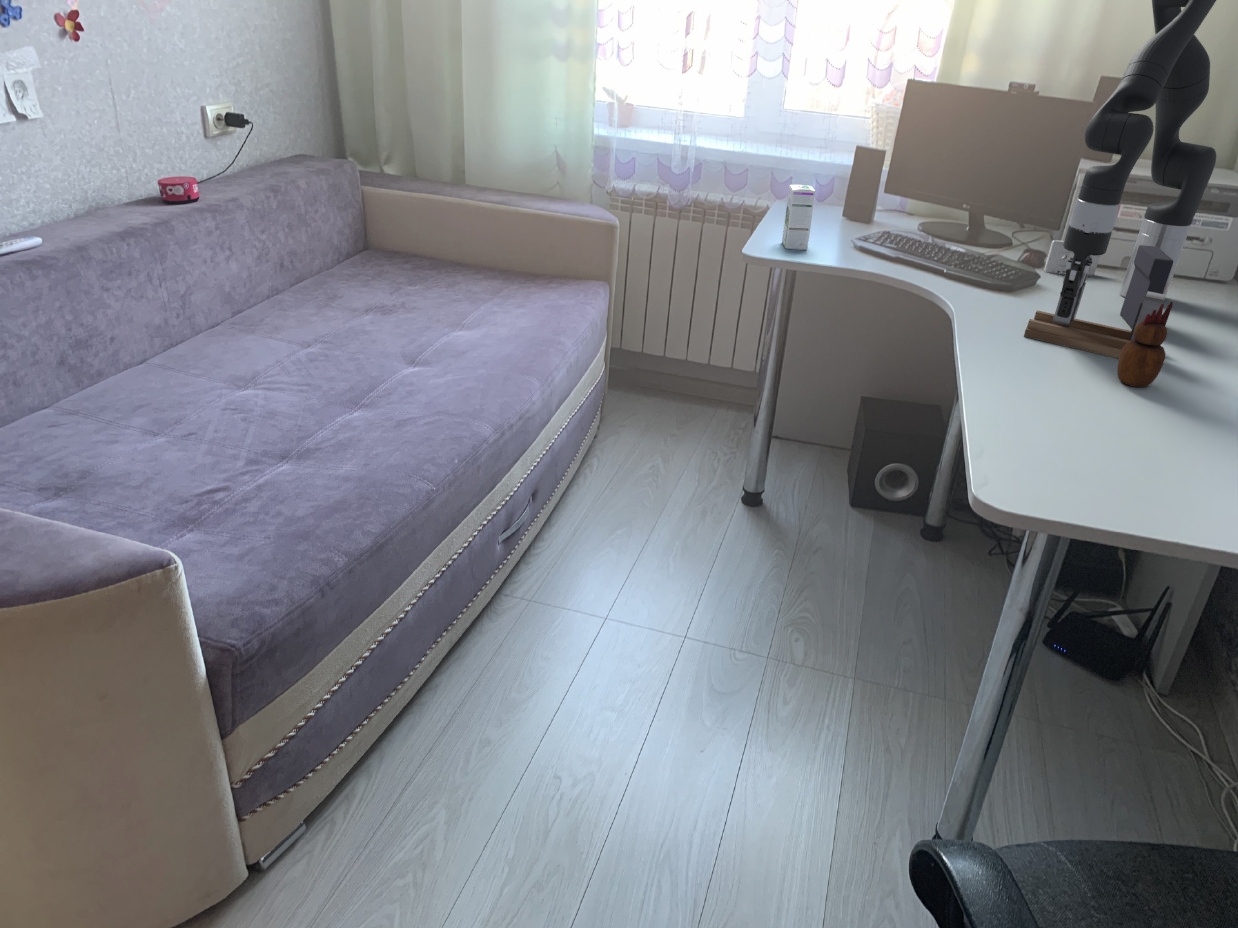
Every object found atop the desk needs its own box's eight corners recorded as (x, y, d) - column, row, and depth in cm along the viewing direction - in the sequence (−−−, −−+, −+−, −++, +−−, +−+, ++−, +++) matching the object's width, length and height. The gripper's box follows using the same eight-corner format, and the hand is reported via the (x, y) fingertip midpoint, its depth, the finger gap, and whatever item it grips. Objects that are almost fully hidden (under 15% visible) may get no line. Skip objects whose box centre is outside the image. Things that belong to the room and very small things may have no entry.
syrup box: (807, 250, 230) (817, 190, 223) (783, 249, 230) (792, 188, 223) (804, 244, 235) (813, 185, 228) (780, 242, 235) (789, 183, 228)
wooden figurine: (1151, 381, 166) (1180, 299, 159) (1156, 393, 161) (1186, 309, 154) (1110, 374, 168) (1137, 293, 160) (1114, 385, 163) (1142, 303, 156)
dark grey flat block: (1153, 334, 189) (1178, 261, 182) (1130, 331, 190) (1154, 258, 182) (1137, 316, 198) (1161, 246, 191) (1116, 314, 199) (1139, 244, 192)
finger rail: (1034, 323, 190) (1049, 268, 185) (1158, 351, 180) (1179, 293, 174) (1023, 336, 183) (1039, 279, 177) (1152, 366, 172) (1174, 306, 167)
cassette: (1045, 273, 225) (1054, 241, 221) (1042, 271, 226) (1051, 239, 223) (1095, 276, 225) (1104, 245, 221) (1091, 274, 226) (1101, 242, 223)
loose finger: (1055, 320, 185) (1069, 271, 180) (1073, 324, 184) (1088, 274, 179) (1051, 325, 182) (1066, 275, 177) (1069, 329, 181) (1085, 279, 176)
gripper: (1076, 215, 181) (1051, 301, 189) (1062, 229, 170) (1037, 319, 178) (1118, 222, 177) (1091, 309, 186) (1107, 236, 167) (1079, 328, 175)
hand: (1064, 313), depth 182 cm, fingers closed on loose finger, 3 cm apart
